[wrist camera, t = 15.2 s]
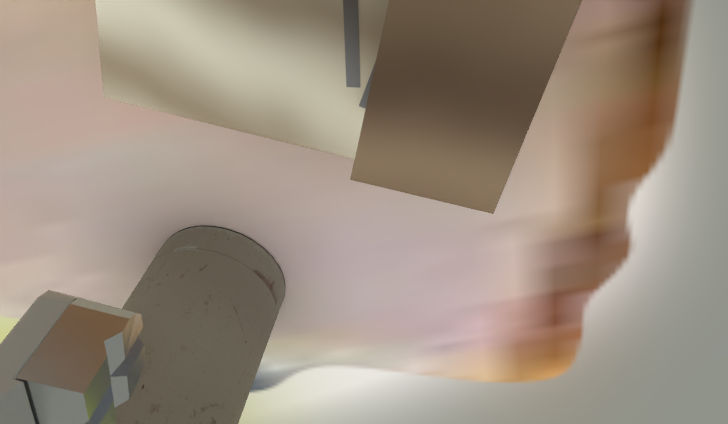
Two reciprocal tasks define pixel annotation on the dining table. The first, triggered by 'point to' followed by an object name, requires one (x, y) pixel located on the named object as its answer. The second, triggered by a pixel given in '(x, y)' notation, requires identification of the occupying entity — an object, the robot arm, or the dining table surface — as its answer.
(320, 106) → the board
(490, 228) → the dining table surface
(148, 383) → the thermos bottle
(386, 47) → the block
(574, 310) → the dining table surface
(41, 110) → the dining table surface
